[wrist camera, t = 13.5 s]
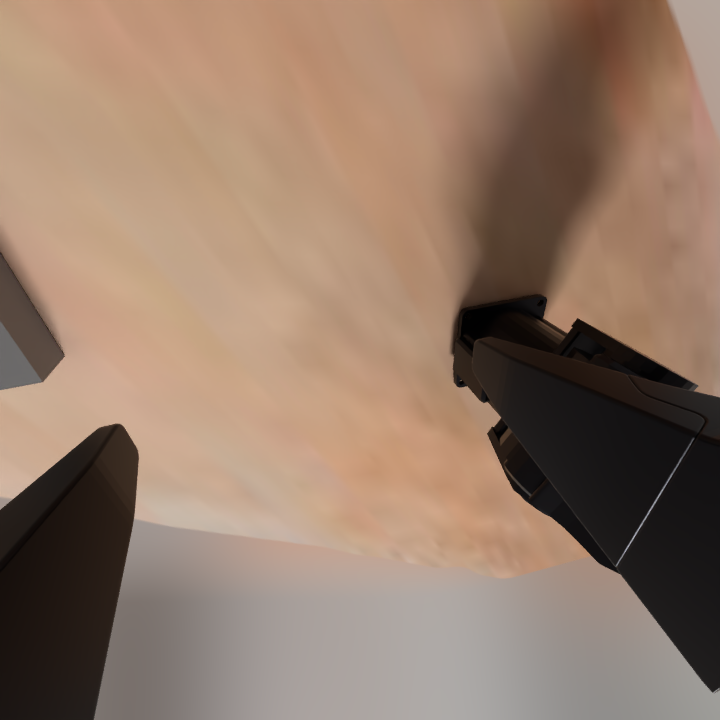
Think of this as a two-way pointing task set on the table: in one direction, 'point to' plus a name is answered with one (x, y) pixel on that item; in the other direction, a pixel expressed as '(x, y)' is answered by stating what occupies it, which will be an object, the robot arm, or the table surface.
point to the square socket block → (22, 337)
